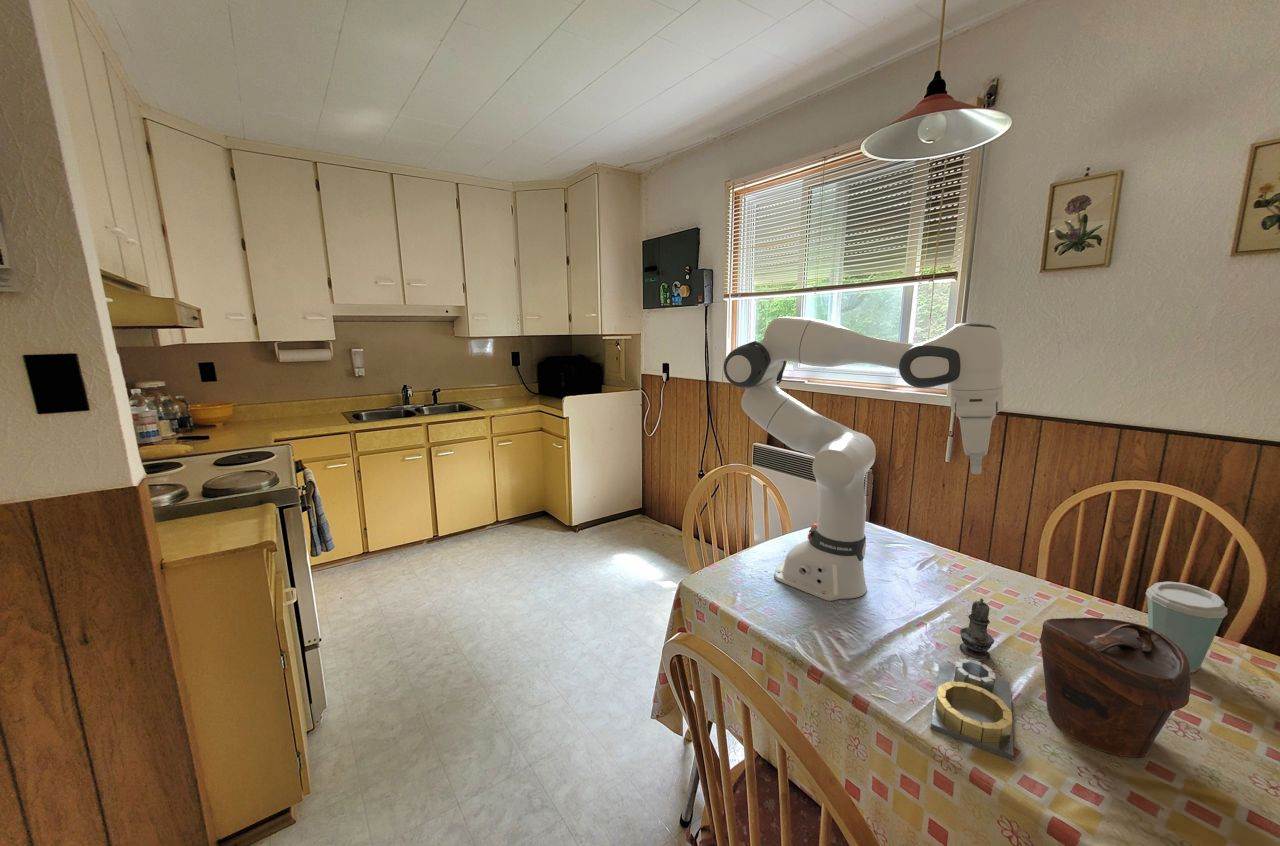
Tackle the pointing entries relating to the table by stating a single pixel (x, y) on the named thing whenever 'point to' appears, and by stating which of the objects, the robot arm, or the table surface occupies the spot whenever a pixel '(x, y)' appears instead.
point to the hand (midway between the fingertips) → (976, 467)
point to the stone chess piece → (977, 633)
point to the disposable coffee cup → (1186, 617)
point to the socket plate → (974, 707)
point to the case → (1112, 682)
